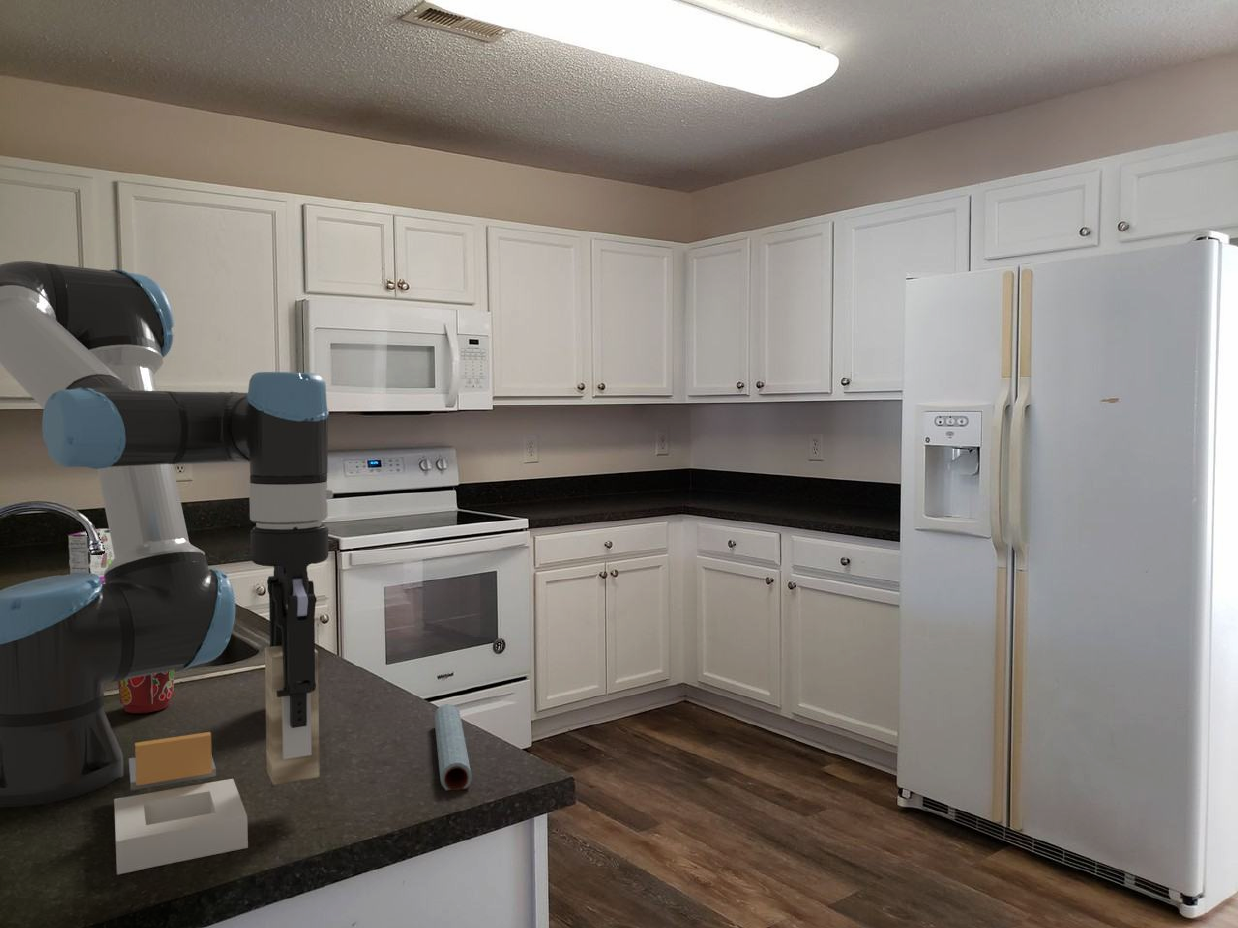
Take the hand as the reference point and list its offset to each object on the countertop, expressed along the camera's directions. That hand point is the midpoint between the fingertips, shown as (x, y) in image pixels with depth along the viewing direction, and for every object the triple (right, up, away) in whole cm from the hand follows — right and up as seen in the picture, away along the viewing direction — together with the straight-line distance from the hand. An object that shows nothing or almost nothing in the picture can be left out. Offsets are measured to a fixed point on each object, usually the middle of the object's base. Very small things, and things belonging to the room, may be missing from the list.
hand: (292, 747), depth 98 cm
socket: (-9, -7, -6) cm, 13 cm away
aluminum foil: (+15, -6, +17) cm, 24 cm away
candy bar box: (-84, -2, +115) cm, 142 cm away
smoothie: (-33, -5, +36) cm, 50 cm away
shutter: (-14, -4, +3) cm, 14 cm away
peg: (0, -3, 0) cm, 3 cm away
